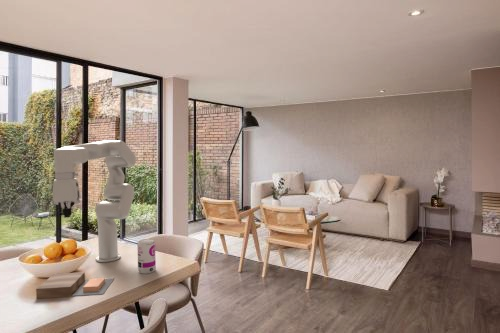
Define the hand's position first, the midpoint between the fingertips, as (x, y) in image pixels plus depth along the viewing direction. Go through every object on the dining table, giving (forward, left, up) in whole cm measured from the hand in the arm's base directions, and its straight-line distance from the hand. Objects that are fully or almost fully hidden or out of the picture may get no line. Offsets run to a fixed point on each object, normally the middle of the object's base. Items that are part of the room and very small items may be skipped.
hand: (67, 216), depth 148 cm
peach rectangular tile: (+9, +13, -27) cm, 32 cm away
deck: (+9, 0, -30) cm, 31 cm away
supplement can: (-7, +33, -30) cm, 45 cm away
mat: (+9, +13, -30) cm, 34 cm away
